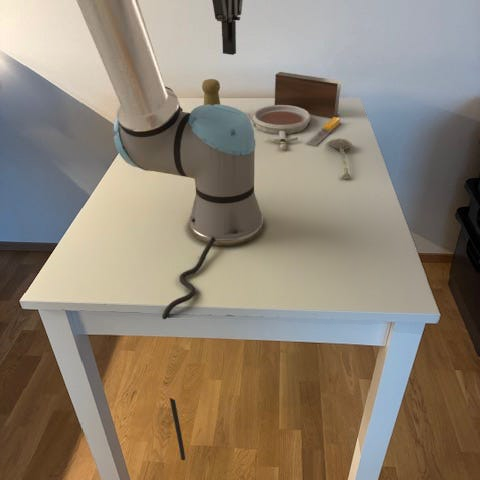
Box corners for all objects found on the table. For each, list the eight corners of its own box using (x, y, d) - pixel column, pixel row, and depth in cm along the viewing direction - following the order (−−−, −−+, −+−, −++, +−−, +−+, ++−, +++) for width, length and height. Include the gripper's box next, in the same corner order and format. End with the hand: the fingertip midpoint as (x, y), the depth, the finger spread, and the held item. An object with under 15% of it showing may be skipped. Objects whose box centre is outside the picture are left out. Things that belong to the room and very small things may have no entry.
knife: (316, 145, 132) (317, 139, 131) (308, 144, 133) (308, 138, 132) (340, 123, 143) (340, 118, 142) (332, 122, 144) (333, 116, 143)
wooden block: (333, 118, 146) (337, 83, 140) (274, 107, 154) (275, 74, 147) (337, 115, 148) (341, 80, 142) (278, 104, 156) (279, 71, 149)
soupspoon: (350, 145, 133) (326, 146, 134) (351, 133, 131) (326, 133, 132) (359, 179, 116) (331, 180, 117) (360, 166, 114) (332, 167, 115)
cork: (213, 113, 151) (211, 75, 143) (226, 118, 147) (225, 79, 140) (198, 118, 148) (196, 80, 140) (211, 124, 144) (209, 84, 137)
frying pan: (251, 142, 128) (253, 103, 148) (251, 153, 130) (253, 113, 150) (315, 142, 127) (309, 103, 148) (314, 153, 129) (308, 113, 150)
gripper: (224, -76, 91) (228, 62, 107) (258, -80, 100) (257, 49, 115) (192, -76, 94) (200, 58, 110) (227, -80, 102) (230, 45, 118)
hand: (229, 53), depth 113 cm, fingers closed
